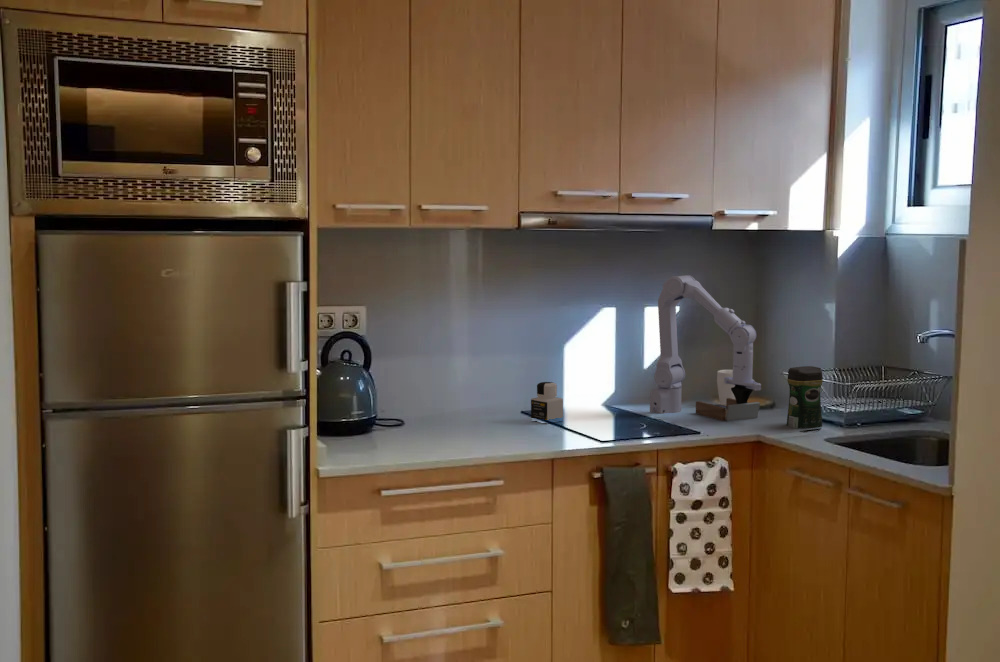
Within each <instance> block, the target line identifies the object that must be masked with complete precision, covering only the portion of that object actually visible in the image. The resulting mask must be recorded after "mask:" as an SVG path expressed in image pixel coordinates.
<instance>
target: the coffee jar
mask: <svg viewBox="0 0 1000 662" xmlns="http://www.w3.org/2000/svg"><path fill="white" fill-rule="evenodd" d="M786 381H787V383H788V388H789V398H788V409H787V417H786V426H788V427H790V428H794V429H801V430H799V433H800V432H801V433H802V432H803V433H808V432H815V431H816V432H817V431H821V430H822V427H823V416H822V402H821V400H822V399H821V388H822V385H823V381H824V379H823V371H822V369H821V367H818V366H814V365H809V366H808V365H805V366H796V367H795V366H794V367H789V369H788V370H787V380H786ZM802 429H803V430H802ZM804 429H805V430H804Z"/></svg>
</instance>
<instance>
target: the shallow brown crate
mask: <svg viewBox="0 0 1000 662" xmlns="http://www.w3.org/2000/svg"><path fill="white" fill-rule="evenodd" d="M747 403H749V402H748V401H747ZM734 404H737V403H736V399H732V398H727V401H726V407H725V406H724V407H723V406H721V405H720V406H718V405H716V404H715V405H714V404H711V403H709V402H704V401H698V400H697V401H695V414H697V415H699V416H704V417H707V418H711V419H715V420H719V421H724V422H726V421H725V420H726V414H727V409H728V405H734Z"/></svg>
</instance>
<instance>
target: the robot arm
mask: <svg viewBox="0 0 1000 662" xmlns="http://www.w3.org/2000/svg"><path fill="white" fill-rule="evenodd" d="M662 287H663V288H662V290H661V292H660V294H659V297H658V300H657V308H658V309H657V310H658V330H659V348H660V349H659V350H660V357H659V359H658V361H657V362H656V369H655V372H654V381H655V383H656V384H657V387H655V388H653V389H651V391H650V394H649V413H656V414H659V415H663V414H677V413H681V412H682V382H683V381H684V380H685V378H686V371H685V368H684V366H683V360H682V359H681V357H680V356H679V348H678V347H679V346H678V330H677V325H678V324H677V305H679V303H680V302H681V301H682V300H683V299H686V298H687V299H692V300H696V302H698V304H700V305H701V306H702V307H704V308H705V309H706V310H707V311H709V313H710V314H712V315H713V317H714V319H713V320H714V322H715V324H716V325H718V326H719V327H720V328H721V329H722V330H723V331H724V332H725V333H726V334H727V335H728V336H729V338H730V341H731V343H732V344H733V350H732V351H733V352H732V357H733V358H732V370H733V377H724V383H725V384H732V385H735V386H734V387H732V388H731V390H732V392H733V394H734V396H735V399H736V403H737V404H743V403H747V402H748V401H749V398H750V395H752V392H753V391H761V390H762V383H760V382H756V381H755V379H753V371H754V370H753V369H754V368H753V367H754V364H753V363H754V362H753V361H754V342H755V341H756V339H757V330H756V329H755V328H754V326H753V325H751V324H746V321H745V320H742V319H740V317H739V316H737V315H736V314H735V310H734V309H733V308H729V307H722V305H720V304H719V302H717V301H716V300H715V299H714V297H713V296H712V295H711V294H710V293H709V292H708V291H707V290H706V289H705V288H704V287H703V285H702V284H701V283H700V281H698V280H696V279H695V278H694V276H693V275H689V274H685V275H678V276H676V275H673V276H670V277H669V278H668V279H666V280H665V281H664V282H663V283H662Z"/></svg>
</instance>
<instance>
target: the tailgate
mask: <svg viewBox="0 0 1000 662" xmlns="http://www.w3.org/2000/svg"><path fill="white" fill-rule="evenodd" d="M760 404H761V403H760V402H759V401H754V402H748V403H743V404H734V405H728V409H727V414H726V420H725V421H724V422H733V421H741V420H749V419H751V420H752V419H758V416H759V410H760V406H761V405H760Z"/></svg>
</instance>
